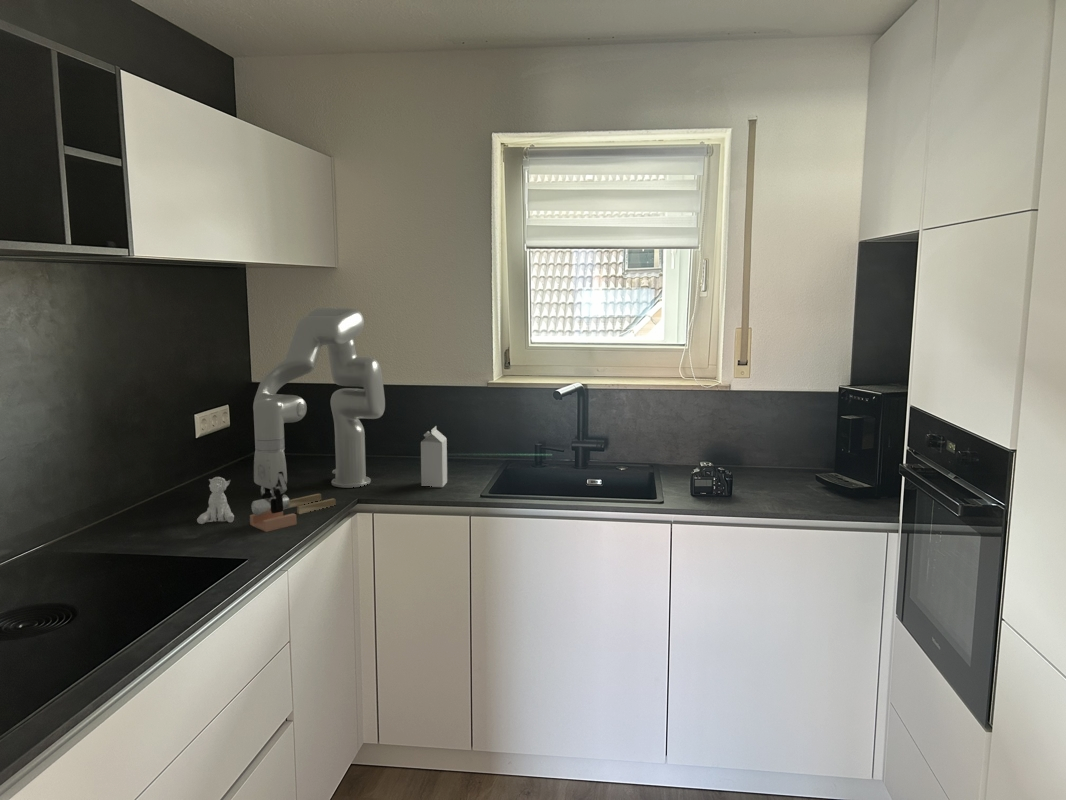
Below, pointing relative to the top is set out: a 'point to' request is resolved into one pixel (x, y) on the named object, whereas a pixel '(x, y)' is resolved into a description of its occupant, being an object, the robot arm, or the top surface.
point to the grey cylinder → (267, 505)
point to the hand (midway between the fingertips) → (272, 509)
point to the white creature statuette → (217, 503)
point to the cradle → (272, 521)
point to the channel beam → (311, 506)
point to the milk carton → (434, 459)
